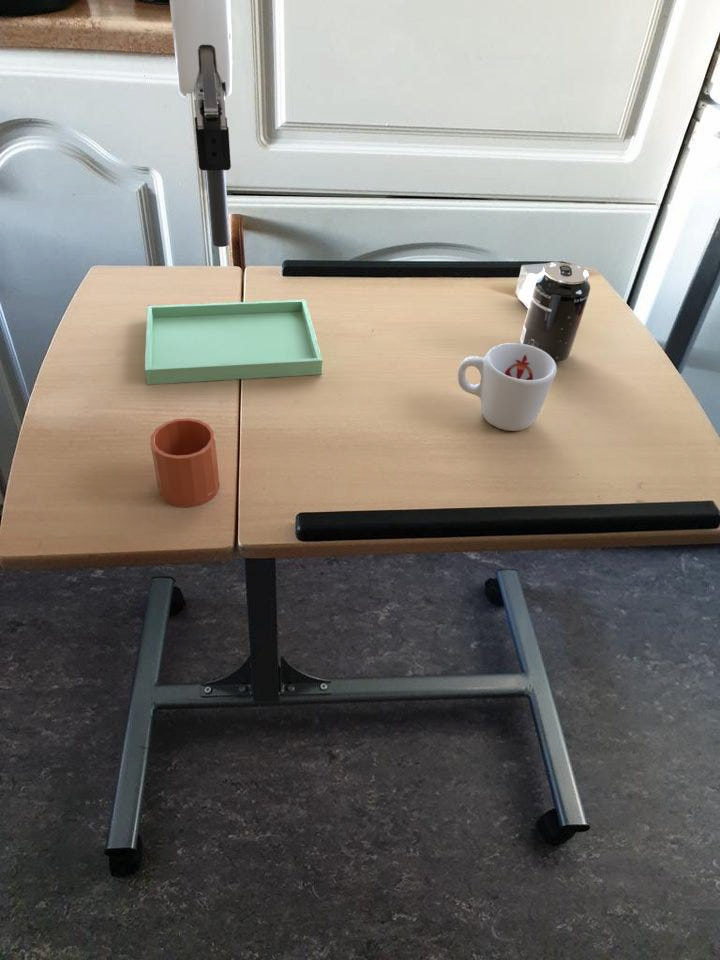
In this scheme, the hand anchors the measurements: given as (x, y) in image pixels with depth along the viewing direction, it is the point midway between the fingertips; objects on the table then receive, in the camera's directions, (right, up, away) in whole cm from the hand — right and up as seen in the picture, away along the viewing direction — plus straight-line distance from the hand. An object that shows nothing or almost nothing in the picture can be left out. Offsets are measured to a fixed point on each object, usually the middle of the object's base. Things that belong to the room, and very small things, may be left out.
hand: (214, 162), depth 73 cm
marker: (-1, -6, +6) cm, 9 cm away
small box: (+42, -6, +33) cm, 54 cm away
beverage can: (+40, -16, +22) cm, 48 cm away
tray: (-2, -16, +19) cm, 24 cm away
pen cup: (-2, -34, -1) cm, 34 cm away
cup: (+31, -25, +11) cm, 42 cm away
